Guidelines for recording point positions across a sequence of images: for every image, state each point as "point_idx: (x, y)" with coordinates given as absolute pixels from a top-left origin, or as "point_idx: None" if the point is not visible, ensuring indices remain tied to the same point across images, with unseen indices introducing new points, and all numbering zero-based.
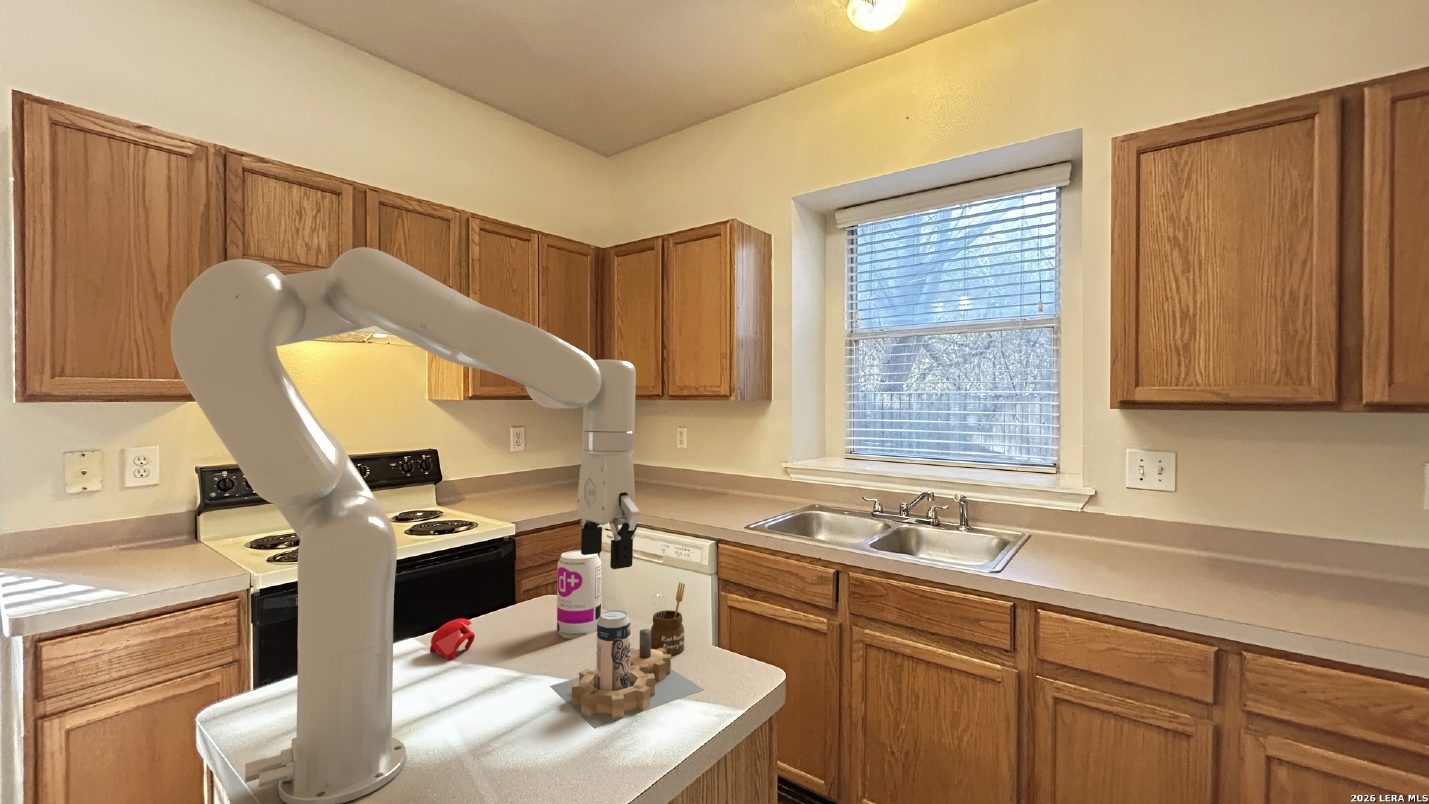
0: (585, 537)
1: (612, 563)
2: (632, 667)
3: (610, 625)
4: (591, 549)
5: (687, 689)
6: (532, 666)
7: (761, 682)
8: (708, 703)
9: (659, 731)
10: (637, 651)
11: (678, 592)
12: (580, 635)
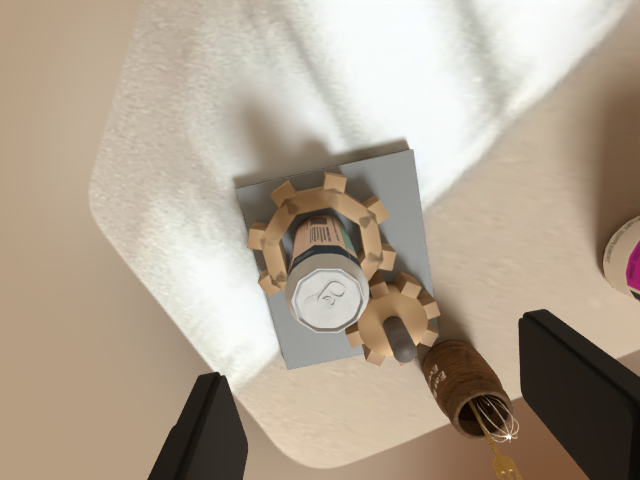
0: (587, 381)
1: (195, 390)
2: None
3: (292, 278)
4: (531, 364)
5: (298, 349)
6: (534, 137)
7: (294, 444)
8: (266, 361)
9: (216, 276)
10: (420, 319)
11: (516, 476)
12: (607, 249)
